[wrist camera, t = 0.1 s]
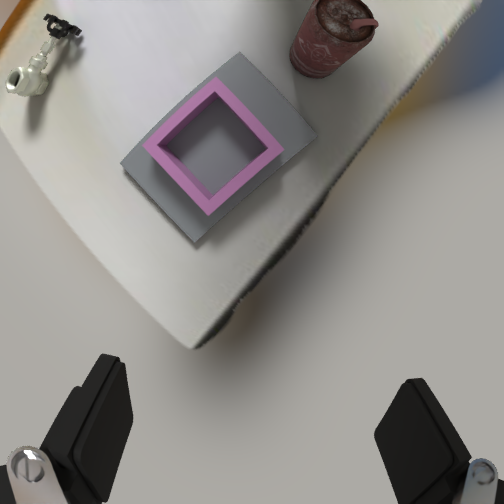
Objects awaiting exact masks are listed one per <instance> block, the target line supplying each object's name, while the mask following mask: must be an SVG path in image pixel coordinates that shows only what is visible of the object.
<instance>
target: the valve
mask: <svg viewBox="0 0 504 504" xmlns="http://www.w3.org/2000/svg"><path fill="white" fill-rule="evenodd" d="M47 19H48V21H47ZM43 20H45V21H47V22H48V25H47V30H48V31H49V32H50V34H49V35H51V37H50V39H49V41H48V42H46V41H45V42H44V44H43V45H42V47H41V49H40V50H42V51H41V52H40V54H37V55H36V57H34V56H32V57H31V59H30V61H29V63H30V65H29V67H28V68H27V69H26V68H22V67H20V68H16V69H13V70H11V72H10V73H9V75H8V77H7V79H6V82H5V84H6V89H7V92H8V93H14V94H15V93H17V94H18V95H20V96H24V97H26V96H37V95H42V94H43V93H44V91H45V89H46V87H47V86H48V84H49V82H48V79H47V76H46V74H45V73H41V71H42V69H45V68H46V66H47V64H48V63H47V62H46V60H47V57H46V56H47V54H48V53H49V54H50V53H51V51H52V50H53V48H54V47H55V45H53V43H54V42H55V40H56V39H60V38H61V37H65V36H66V35H67V34H68V33H71V34H73V33H74V34H75V35H76V36H79V34H80V33H81V31H82V30H81V29H79V28H78V27H77V26H74V25H70V24H69V22H67V21H65V20H60V19H58V17H56V16H54V15H50V14H46V16H45V17H44V19H43ZM53 23H55V24H57V25H56V26H54V28H53V29H51V25H52V24H53Z"/></svg>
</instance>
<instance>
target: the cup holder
mask: <svg viewBox="0 0 504 504" xmlns="http://www.w3.org/2000/svg"><path fill="white" fill-rule="evenodd" d="M317 136H318V135H317V134H316V133H315V132H314V131H313V129H312V128H311V127H310V126H309V125H308V123H307V122H306V121H305V120H304V119H303V118H302V117H301V115H300V114H299V113H298V112H297V111H296V110H295V109H294V107H293V106H292V105H291V104H290V103H289V102H288V101H287V100H286V99H285V97H284V96H283V95H282V94H281V93H280V92H279V91H278V90H277V89H276V88H275V87H274V86H273V85H272V84H271V83H270V81H269V80H268V79H267V78H266V77H265V76H264V75H263V74H262V73H261V72H260V71H259V70H258V69H257V68H256V67H255V66H254V65H253V64H252V63H251V62H250V61H249V60H248V59H247V58H246V57H245V56H244V55H243V54H242V53H241V52H239V53H238V54H236V55H235V56H234V57H232V58H231V59H230V60H229V61H227V62H226V63H225V64H223V65H222V66H221V67H220V68H219V69H217V70H216V71H215V72H214V73H212V74H211V75H210V76H209V77H208V78H206V79H205V80H204V81H203V82H202V83H201V84H199V85H198V86H197V87H196V88H195V89H194V90H193V91H191V92H190V93H189V94H188V95H187V96H186V97H185V98H184V99H182V100H181V101H180V102H179V103H178V104H177V105H176V106H175V107H174V108H173V109H172V110H171V111H170V112H169V113H168V114H166V115H165V116H164V117H163V118H162V119H161V120H160V121H159V122H158V123H157V124H156V125H155V126H154V127H153V128H152V129H151V130H150V131H149V132H148V133H147V134H146V135H145V136H144V138H143V139H142V140H141V141H140V142H139V143H138V144H137V145H136V146H135V147H134V148H133V149H132V150H131V151H130V152H129V154H128V155H127V156H126V157H125V158H124V159H123V160H122V161H121V162H120V164H121V165H122V166H123V168H124V169H125V170H126V171H127V172H128V173H129V174H130V175H131V176H132V177H133V178H134V180H135V181H136V182H137V183H138V184H139V185H140V186H141V187H142V188H143V189H144V190H145V191H146V192H147V194H148V195H149V196H150V197H151V198H152V199H153V200H154V201H155V202H156V203H157V204H158V205H159V206H160V207H161V208H162V209H163V211H164V212H165V213H166V214H167V215H168V216H169V217H170V218H171V219H172V220H173V221H174V222H175V223H176V224H177V225H178V226H179V227H180V228H181V229H182V230H183V232H184V233H185V234H186V235H187V236H188V237H189V238H190V239H191V240H192V241H193V242H194V243H195V242H196V241H197V240H198V239H199V238H200V237H201V236H203V235H204V234H205V233H206V232H207V231H208V230H209V229H210V228H211V227H212V226H214V225H215V224H216V223H217V222H218V221H219V220H220V219H221V218H222V217H224V216H225V215H226V214H227V213H228V212H229V211H230V210H231V209H233V208H234V207H235V206H236V205H237V204H238V203H239V202H241V201H242V200H243V199H244V198H245V197H246V196H247V195H249V194H250V193H251V192H252V191H253V190H254V189H255V188H257V187H258V186H259V185H260V184H261V183H262V182H264V181H265V180H266V179H267V178H268V177H269V176H271V175H272V174H273V173H274V172H275V171H276V170H278V169H279V168H280V167H281V166H282V165H284V164H285V163H286V162H287V161H288V160H290V159H291V158H292V157H293V156H294V155H296V154H297V153H298V152H299V151H300V150H302V149H303V148H304V147H305V146H306V145H308V144H309V143H310V142H311V141H312V140H314V139H315V138H316V137H317Z"/></svg>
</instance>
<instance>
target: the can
mask: <svg viewBox="0 0 504 504" xmlns="http://www.w3.org/2000/svg"><path fill="white" fill-rule="evenodd" d="M377 27H378V22H377V21H376V20H375V19H374V17H373V14H372V12H371V11H370V9H369V8H368V7H367V5H365V4H364V3H363V2H362V1H361V0H315V1H313V3H312V5H311V7H310V9H309V11H308V13H307V15H306V17H305V19H304V21H303V23H302V25H301V27H300V29H299V31H298V33H297V36H296V38H295V40H294V42H293V44H292V46H291V48H290V60H291V63H292V64H293V66H294V67H295V69H296V70H297V71H299V72H300V73H301V74H303V75H305V76H307V77H311V78H324V77H326V76H328V75H330V74H331V73H332V72H334V71H335V70H336V69H337V68H338V67H340V66H341V65H342V64H343V63H345V62H346V61H347V60H348V59H350V58H351V57H352V56H353V55H355V54H356V53H357V52H358V51H360V50H361V49H362V48H363V47H365V46H366V45H367V44H368V43H369V42H370V41H371V40H372V38H373V36H374V34H375V29H376V28H377Z"/></svg>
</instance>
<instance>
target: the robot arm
mask: <svg viewBox="0 0 504 504" xmlns="http://www.w3.org/2000/svg"><path fill="white" fill-rule="evenodd" d="M132 423H133V411H132V406H131V400H130V395H129V388H128V382H127V374H126V367H125V363H122V362H120V358H119V357H116V356H112V355H107V354H101V355H100V356H99V358H98V360H97V361H96V363H95V365H94V366H93V368H92V370H91V371H90V373H89V375H88V376H87V378H86V380H85V381H84V383H83V385H82V387H79V386H76V387H74V388H73V390H72V391H71V393H70V394H69V396H68V398H67V400H66V401H65V403H64V405H63V406H62V408H61V410H60V412H59V413H58V415H57V417H56V419H55V420H54V422H53V424H52V426H51V428H50V430H49V432H48V433H47V435H46V437H45V439H44V441H43V443H42V444H41V447H40V448H39V449H38V448H35V447H32V446H22V447H19V448H16V449H15V450H14V451H12V452H11V454H10V455H9V456H8V459H7V465H3V466H0V504H102V502H105V503H106V502H107V501H108V499H109V496H110V492H111V489H112V486H113V482H114V479H115V476H116V473H117V470H118V466H119V463H120V460H121V457H122V454H123V451H124V448H125V445H126V442H127V439H128V436H129V433H130V430H131V427H132ZM374 438H375V441H376V443H377V446H378V449H379V451H380V454H381V457H382V459H383V462H384V465H385V468H386V470H387V473H388V476H389V479H390V481H391V484H392V487H393V490H394V492H395V496H396V498H397V501H398V504H504V481H503V480H500V479H498V472H497V469H496V467H495V465H494V464H493V463H492V462H490V461H489V460H487V459H483V458H480V459H476V460H474V461H472V462H471V463H469V460H470V459H471V458H472V457H471V455H470V453H469V451H468V450H467V448H466V446H465V445H464V443H463V441H462V439H461V438H460V436H459V434H458V433H457V431H456V429H455V428H454V426H453V424H452V423H451V421H450V420H449V418H448V416H447V415H446V413H445V411H444V410H443V408H442V407H441V405H440V403H439V402H438V400H437V399H436V397H435V396H434V394H433V392H432V391H431V389H430V388H429V386H428V385H427V383H426V382H425V380H424V379H422V378H414V379H407V380H406V381H405V383H403V384H402V385H401V387H400V389H399V390H398V392H397V394H396V396H395V398H394V399H393V401H392V403H391V405H390V406H389V408H388V410H387V412H386V413H385V415H384V417H383V418H382V420H381V422H380V423H379V425H378V426H377V428H376V430H375V433H374Z"/></svg>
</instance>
